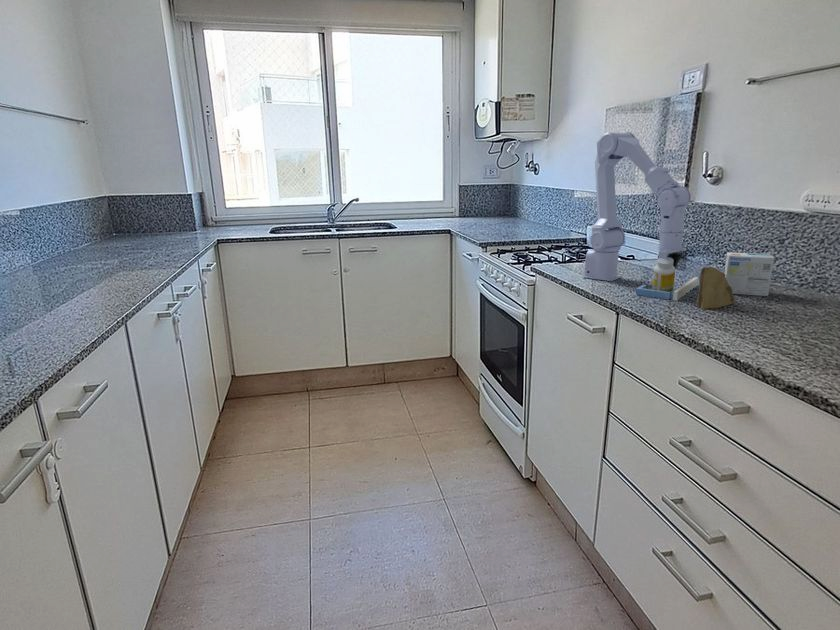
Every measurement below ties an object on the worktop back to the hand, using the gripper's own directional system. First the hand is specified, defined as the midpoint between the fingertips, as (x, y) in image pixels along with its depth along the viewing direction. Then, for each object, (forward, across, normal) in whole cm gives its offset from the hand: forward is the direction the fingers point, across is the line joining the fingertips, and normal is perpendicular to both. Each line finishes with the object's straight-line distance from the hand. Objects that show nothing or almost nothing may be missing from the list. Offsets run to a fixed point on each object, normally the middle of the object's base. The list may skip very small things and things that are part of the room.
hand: (667, 279), depth 144 cm
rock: (+4, -9, -14) cm, 17 cm away
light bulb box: (+4, +10, -17) cm, 21 cm away
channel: (+3, +1, +1) cm, 4 cm away
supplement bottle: (+3, -2, +1) cm, 3 cm away
